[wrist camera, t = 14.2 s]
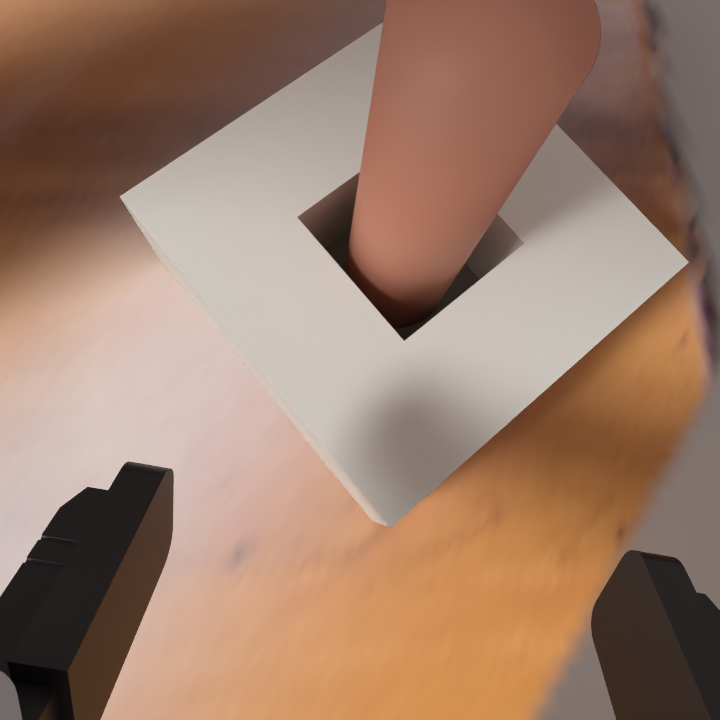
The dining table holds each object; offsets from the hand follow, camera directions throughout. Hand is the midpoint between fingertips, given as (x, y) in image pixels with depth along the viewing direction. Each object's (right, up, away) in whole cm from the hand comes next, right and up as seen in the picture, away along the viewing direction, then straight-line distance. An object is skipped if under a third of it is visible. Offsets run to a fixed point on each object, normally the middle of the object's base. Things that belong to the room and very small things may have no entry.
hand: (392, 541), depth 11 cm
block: (+1, +6, +12) cm, 13 cm away
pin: (+1, +6, +11) cm, 13 cm away
